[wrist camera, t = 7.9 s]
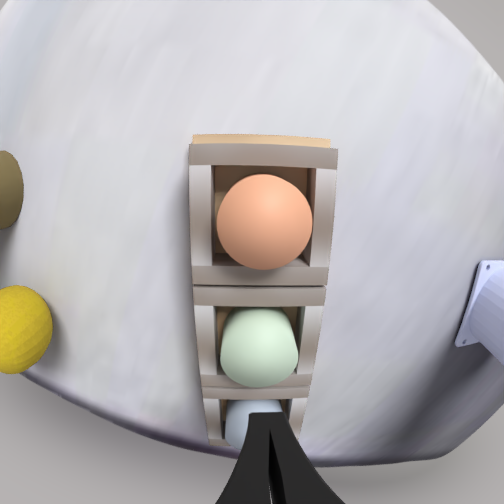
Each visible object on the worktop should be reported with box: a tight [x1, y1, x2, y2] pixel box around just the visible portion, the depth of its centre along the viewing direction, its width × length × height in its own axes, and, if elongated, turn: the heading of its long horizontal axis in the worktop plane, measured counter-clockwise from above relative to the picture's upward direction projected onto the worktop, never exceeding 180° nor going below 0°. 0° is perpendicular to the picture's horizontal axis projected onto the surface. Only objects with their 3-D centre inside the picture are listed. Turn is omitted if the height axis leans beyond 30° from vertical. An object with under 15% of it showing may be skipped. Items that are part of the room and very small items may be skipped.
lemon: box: [0, 285, 53, 374], centre depth 14 cm, size 6×6×8 cm
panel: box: [189, 134, 338, 446], centre depth 17 cm, size 22×7×3 cm, turn 179°
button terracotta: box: [217, 173, 312, 270], centre depth 14 cm, size 4×4×3 cm
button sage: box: [220, 306, 298, 387], centre depth 16 cm, size 4×4×3 cm
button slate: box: [225, 399, 283, 450], centre depth 18 cm, size 4×4×3 cm
